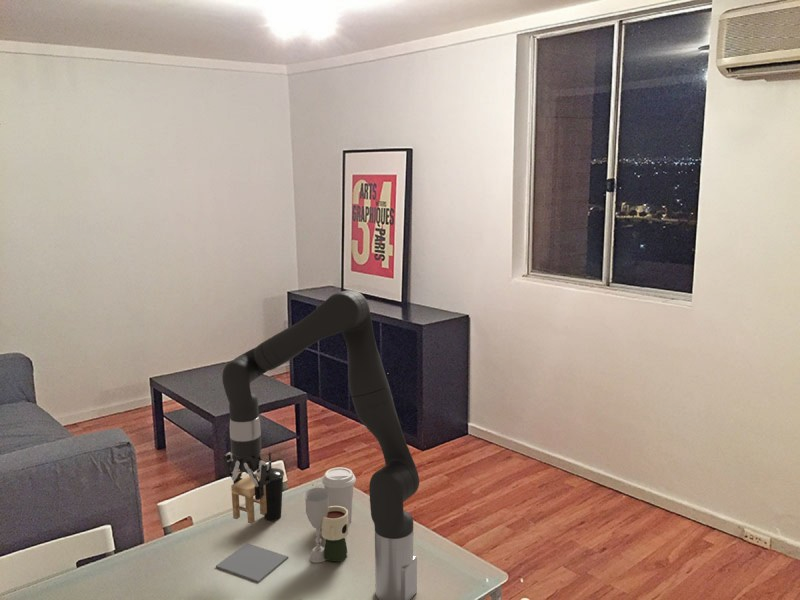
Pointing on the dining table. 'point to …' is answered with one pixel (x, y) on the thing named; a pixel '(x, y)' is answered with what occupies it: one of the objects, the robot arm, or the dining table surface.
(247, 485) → the light wood stool
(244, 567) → the mat
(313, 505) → the chalice
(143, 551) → the dining table surface
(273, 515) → the drinking cup
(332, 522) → the character mug
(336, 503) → the coffee cup
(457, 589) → the dining table surface
